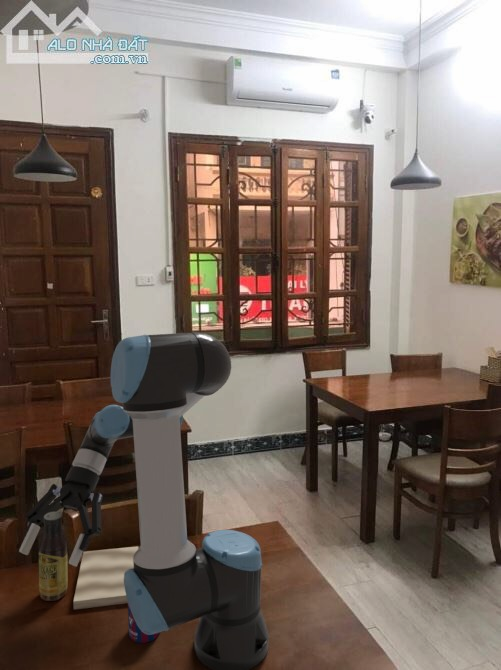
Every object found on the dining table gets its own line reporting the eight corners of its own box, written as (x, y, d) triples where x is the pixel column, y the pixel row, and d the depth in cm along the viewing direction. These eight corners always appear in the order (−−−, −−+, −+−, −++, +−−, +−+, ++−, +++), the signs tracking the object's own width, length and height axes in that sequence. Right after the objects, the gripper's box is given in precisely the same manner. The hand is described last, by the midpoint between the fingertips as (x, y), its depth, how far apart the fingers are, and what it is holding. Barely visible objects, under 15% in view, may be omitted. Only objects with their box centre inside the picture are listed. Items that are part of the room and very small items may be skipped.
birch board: (137, 601, 118) (137, 593, 118) (73, 609, 115) (73, 601, 115) (138, 553, 137) (138, 546, 137) (83, 558, 134) (83, 551, 134)
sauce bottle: (33, 599, 118) (29, 518, 115) (52, 583, 124) (48, 506, 121) (56, 606, 116) (52, 524, 113) (74, 589, 122) (71, 511, 119)
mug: (122, 631, 109) (121, 601, 108) (162, 609, 116) (161, 581, 115) (139, 648, 104) (139, 617, 103) (179, 624, 111) (179, 595, 110)
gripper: (135, 484, 128) (101, 574, 116) (52, 470, 136) (12, 553, 124) (123, 472, 122) (86, 565, 110) (37, 458, 130) (-6, 544, 118)
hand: (47, 559), depth 117 cm, fingers open, 13 cm apart
